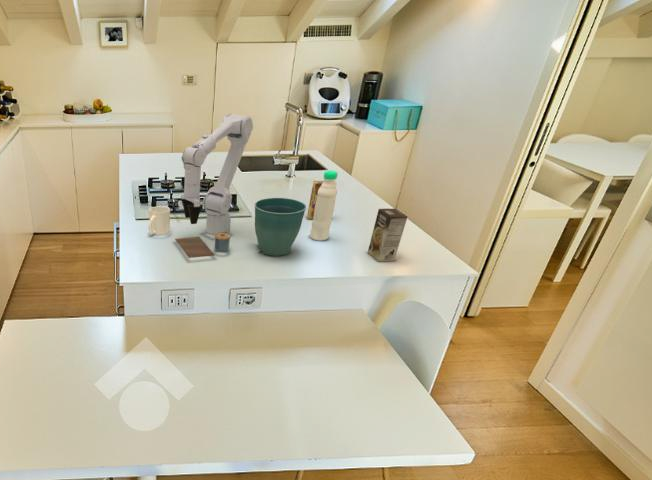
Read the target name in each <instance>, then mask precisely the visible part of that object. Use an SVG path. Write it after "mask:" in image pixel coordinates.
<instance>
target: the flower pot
mask: <svg viewBox="0 0 652 480" xmlns="http://www.w3.org/2000/svg"><path fill="white" fill-rule="evenodd" d="M306 210H307V204H305V202H303V201H300V200H297V199H293V198H288V197H268V198H262V199H259V200H257V201H256V202H255V203H254V232H255V236H256V240H257V247H258V249H259V250H260V251H259V253H262V254H264V255H267V256H285V255H287V254H289V253H290V252H291V250H292V247H293V245H294V242H295V241H296V239H297V237H298V235H299V233H300V230H301V227H302V224H303V219H304V216H305V212H306Z"/></svg>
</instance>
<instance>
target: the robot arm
mask: <svg viewBox="0 0 652 480" xmlns="http://www.w3.org/2000/svg"><path fill="white" fill-rule="evenodd" d="M221 120H222V121H221V123H220V125H218V126H217V127H216V129H215V130H213V132H212V133H211V134H203V135H202V137H201V138H200V139H199V140H198V141H197V142H195V143H194V144H193V145H192V146H188V147H186V148H185V149H184V150H183V152H182V155H181V161H182V163H183V169H184V185H183V195H180V201H181V204H182V208H183V212H184V217H185V218H187V219H188V218H189V222H190V225H197V224H198V220H199V217H200V214H201V212H202V210H203V209H204V210H205V211H204V213H206V219H205V221H206V222H205V233H206V234H209V235H213V236H215V235H216V234H218V233H228V234H229V233H231V222H232V221H231V220H232V218H231V213H230V212H229V210H230V208H231V202H232V199H233V196H232V193H231V192H230V187H231V185H232V183H233V179H234V177H235V175H236V172H237V170H238V167H239V164H240V162H241V159H242V157H243V154H244V151H245V149H246V146H247V144H248V142H249V140H250V137H251V135H252V132H253V130H254V124H253V119H252V117H251V116H249V115H239V114H232V113H227V114H226V115H225V116H223V118H222V119H221ZM224 138H227V140H228V141H229V142H230V146H229V150H228V152H227V154H226V157H225V160H224V162H223V165H222V168H221V170H220V173H219V176H218V178H217V180H216V183H215V185H214V186H212V187H210V188H209V189H208V191H207V193H206V194H205V196H204V198H203V200H202V204H201V192H200V191H201V176H202V175H201V174H202V173H201V172H202V166H203V165H204V163H205V161H206V158H207V156H208V155H210V154H211V153H212V152H213V151H214V150H215V149H216V147H217V143H218V142H220V141H221V140H223V139H224Z"/></svg>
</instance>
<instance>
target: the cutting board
mask: <svg viewBox="0 0 652 480" xmlns="http://www.w3.org/2000/svg"><path fill="white" fill-rule="evenodd" d="M174 239H175V241H176V243H177V244H178V245H179V247H180V248H181V250H182V251H183V252H184V254H185V255H186V256H187V258H188V259H192V258H193V259H194V258H202V257H204V258H205V257H214V256H215V253H214V252H213V251H212V250H211V249H210V247H209V246H208V245H207V244H206V243H205V242H204V241H203V238H201V236H191V237H181V238H179V237H178V238H174Z"/></svg>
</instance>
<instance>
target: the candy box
mask: <svg viewBox="0 0 652 480" xmlns="http://www.w3.org/2000/svg"><path fill="white" fill-rule="evenodd" d="M323 182H324V180H313V181H312V188H311V193H310V198H309V203H308V209H307V214H306V217H307V219H308V220H313V218H314V210H315V204H316V200H317V196H318V194H317V193H318V190H319V188H320V187H321V185H322V183H323ZM335 184H336V185H337V182H336V181H335Z"/></svg>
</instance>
